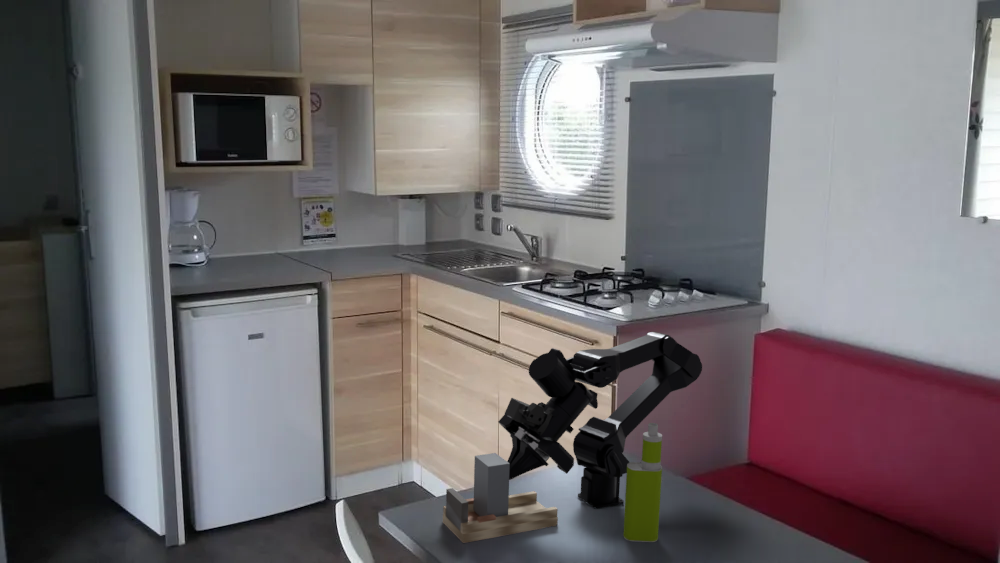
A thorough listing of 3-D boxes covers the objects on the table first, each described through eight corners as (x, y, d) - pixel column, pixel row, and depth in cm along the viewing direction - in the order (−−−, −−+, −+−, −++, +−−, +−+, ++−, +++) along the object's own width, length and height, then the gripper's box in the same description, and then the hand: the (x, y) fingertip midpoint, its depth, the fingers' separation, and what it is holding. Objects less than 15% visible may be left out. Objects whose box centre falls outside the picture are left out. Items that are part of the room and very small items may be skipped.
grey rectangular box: (493, 506, 156) (495, 452, 155) (508, 519, 151) (509, 463, 150) (473, 510, 154) (474, 455, 153) (486, 522, 149) (488, 466, 148)
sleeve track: (533, 506, 162) (534, 472, 161) (557, 525, 154) (558, 490, 153) (442, 522, 154) (443, 486, 153) (463, 543, 146) (464, 506, 145)
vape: (660, 542, 148) (666, 428, 145) (624, 541, 149) (630, 427, 146) (657, 532, 152) (663, 421, 149) (622, 531, 152) (628, 420, 149)
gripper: (509, 370, 161) (452, 435, 158) (561, 396, 144) (499, 470, 141) (545, 407, 166) (491, 471, 162) (599, 437, 149) (540, 509, 146)
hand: (503, 479), depth 153 cm, fingers closed, pressing on grey rectangular box
